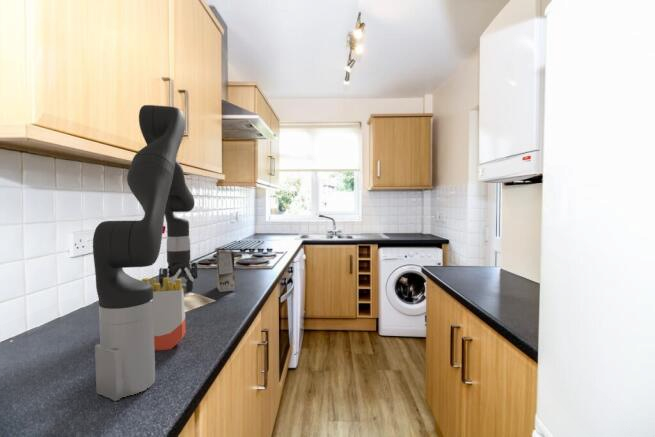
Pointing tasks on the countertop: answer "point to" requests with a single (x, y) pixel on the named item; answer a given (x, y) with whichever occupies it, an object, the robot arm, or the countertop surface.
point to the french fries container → (168, 313)
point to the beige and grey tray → (193, 299)
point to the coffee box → (225, 270)
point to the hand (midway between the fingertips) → (179, 294)
